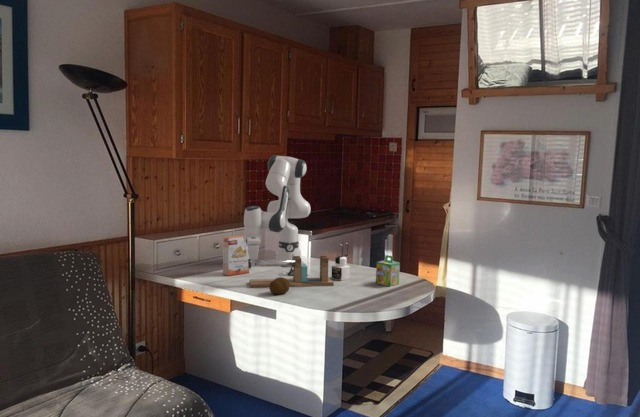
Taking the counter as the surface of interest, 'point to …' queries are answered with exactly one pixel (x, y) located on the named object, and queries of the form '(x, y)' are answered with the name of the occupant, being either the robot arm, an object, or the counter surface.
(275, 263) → the shaft
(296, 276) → the shaft stand
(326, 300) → the counter surface
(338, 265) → the medicine bottle
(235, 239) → the cracker box
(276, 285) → the potato
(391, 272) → the chalk box
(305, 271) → the teal holed block
